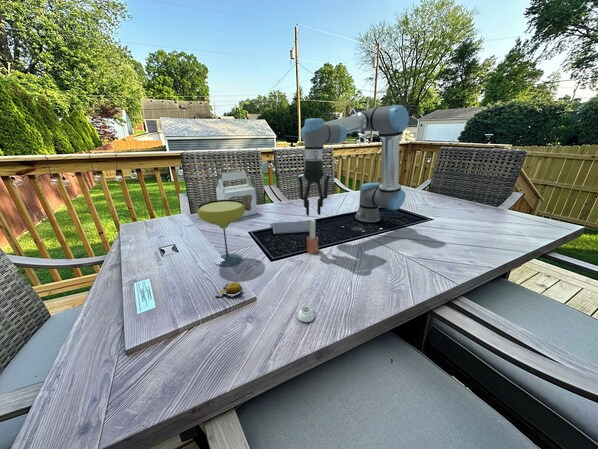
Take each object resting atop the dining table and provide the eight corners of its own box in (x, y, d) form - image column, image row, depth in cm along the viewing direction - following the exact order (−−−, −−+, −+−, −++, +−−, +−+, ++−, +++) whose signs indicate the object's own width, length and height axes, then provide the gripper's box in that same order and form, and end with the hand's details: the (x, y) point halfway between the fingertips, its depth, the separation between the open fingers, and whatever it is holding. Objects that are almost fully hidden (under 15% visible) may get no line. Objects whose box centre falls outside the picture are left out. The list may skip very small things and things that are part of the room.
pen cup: (316, 248, 117) (316, 235, 115) (319, 253, 113) (319, 239, 110) (305, 249, 117) (305, 236, 114) (307, 254, 112) (308, 240, 109)
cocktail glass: (226, 276, 96) (218, 215, 87) (196, 263, 105) (187, 207, 96) (257, 257, 110) (253, 203, 101) (228, 247, 119) (222, 197, 110)
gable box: (248, 209, 178) (245, 169, 169) (257, 213, 169) (254, 172, 159) (218, 215, 166) (213, 173, 156) (226, 220, 156) (221, 175, 146)
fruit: (227, 283, 91) (226, 275, 89) (247, 287, 88) (246, 279, 87) (213, 297, 83) (211, 288, 82) (234, 302, 81) (233, 292, 80)
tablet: (309, 222, 152) (309, 220, 152) (315, 232, 136) (315, 230, 136) (271, 224, 149) (271, 222, 148) (273, 235, 133) (273, 233, 133)
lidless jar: (300, 309, 77) (295, 320, 73) (300, 302, 76) (294, 312, 72) (316, 313, 76) (311, 324, 71) (316, 305, 75) (311, 316, 70)
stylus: (314, 249, 116) (314, 219, 110) (315, 251, 114) (316, 221, 108) (309, 249, 115) (309, 219, 110) (310, 252, 113) (310, 221, 108)
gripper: (293, 161, 95) (294, 218, 104) (337, 160, 98) (334, 215, 106) (291, 159, 102) (292, 212, 111) (331, 158, 105) (330, 210, 113)
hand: (313, 214), depth 108 cm, fingers open, 4 cm apart
